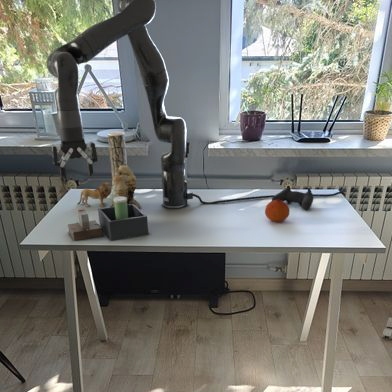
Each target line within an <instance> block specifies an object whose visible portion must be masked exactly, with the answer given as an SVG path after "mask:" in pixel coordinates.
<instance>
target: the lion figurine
mask: <svg viewBox="0 0 392 392" xmlns="http://www.w3.org/2000/svg"><path fill="white" fill-rule="evenodd" d="M112 192H113V190H112V184H111V183H109V182H103V183H102V184H101V185H100V186H98V187H97V188H95V189H90V188H83V189H82V191H81V193H80V198H79V202H78V203H76V205H78V206H79V205H81V204H82V205H85V206H86V207H90V206H91V205H90V204H89V203H88V200H89V198H90V199H93V200H99V203H100V206H101V207H102V208H105V203H104V199H107V198H108V197H109V196H110V195H111V194H112Z"/></svg>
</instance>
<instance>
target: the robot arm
mask: <svg viewBox="0 0 392 392" xmlns="http://www.w3.org/2000/svg"><path fill="white" fill-rule="evenodd" d="M116 4H117V5H116V6H117V11H118V13H116V14H113V16H111V17H109V18H106V19H104V20H102V21H99V22H97V23H94V24H93V25H91V26H89V27H87V28H86V29H84V31H82V32H81V33H79V34H78V35H77V36H76V37H74V38H73V39H72V40H71V41H69V42H66V43H64V44H62V45H61V46H58V47H57V48H56V49H54V50H52V52H50V53H49V55H48V56H47V58H46V69H47V71H48V73H49V74H50V75H51V76H52V77H54V78H57V88H56V89H55V90H54V99H55V106H56V119H57V125H58V132H59V139H60V144H59V145H55V144H52V145H51V157H52V163H53V165H54V166H55V167H59V172H60V176H61V177H62V178H63V179H64V180H65V179H67V173H66V167H65V165H66V164H67V162H68V161H69V159H70V160H72V159H81V158H82V157H83V159H84V160H85V161H86V162H87V163H86V166H87V167H86V168H87V174H88V176H89V177H92V176H93V174H94V168H93V167H94V165H93V164H94V163H97V162H98V155H97V154H98V153H97V148H96V143H95V142H94V141H90V142H86V140H85V133H84V127H83V125H84V124H83V117H82V113H81V106H80V100H79V93H78V92H79V81H80V70H79V65H81V64H86V63H88V62H90V61H92V60H93V59H94V58H96V56H98V55H99V54H100V53H102V52H103V51H104V50H105V49H107V48H108V47H109V46H111V45H112V44H114V43H116V42H117V41H119V40H120V39H122V38H123V37H125V36H127V38H128V40H129V43H130V46H131V49H132V50H131V51H132V53H133V56H134V60H135V62H136V65H137V69H138V71H139V72H138V73H139V76H140V79H141V82H142V86H143V89H144V92H145V95H146V98H147V103H148V106H149V110H150V115H151V120H152V124H153V129H154V134H155V137H156V138H157V140H158V141H159V142H161V143H165V144H170V145H171V146H170V150H169V151H165V152H162V153H161V155H160V165H161V186H162V188H161V189H162V206H163V207H164V208H167V209H180V208H184V207H186V206H188V201H189V200H193V199H194V198H197V199H198V200H199V202H200V204H203V205H216V204H220V203H231V202H238V201H247V200H256V199H257V200H258V199H269V198H271V199H272V198H273V196H275V195H276V194H271V195H258V196H247V197H238V198H237V197H236V198H229V199H221V200H215V201H208V202H207V201H203V200H202V198H201V196H199V195H198V194H196V193H194V192H193V191H191V190H189V189H188V182H187V180H186V161H185V159H186V152H187V125H186V121H185V120H184V119H183V118H182V117H179V116H178V117H177V116H168V115H167V112H166V108H165V99H166V95H167V91H168V89H169V84H170V83H169V75H168V71H167V67H166V64H165V60H164V58H163V56H162V54H161V53H160V51H159V49H158V48H157V46H156V45H155V43H154V41H153V40H152V39H151V36H150V35H149V32H148V29H147V26H146V25H148V24H150V23H151V22H152V20H153V19H154V18H155V15H156V8H157V6H156V4H157V3H156V0H117V1H116ZM87 148H88V150H90V155H91V158H90V157H89V156H88V155H87V154H86V153H85V152H86V150H87ZM60 150H61V152H63V154H62V156H61V158H60V160H59V159H58V154H59V153H60ZM312 194H313V197H320V198H321V197H335V196H338V195H342V196H346V195H347V194H346V193H345V192H344V191H337V192H334V193H327V194H325V193H321V194H320V193H312Z"/></svg>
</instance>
